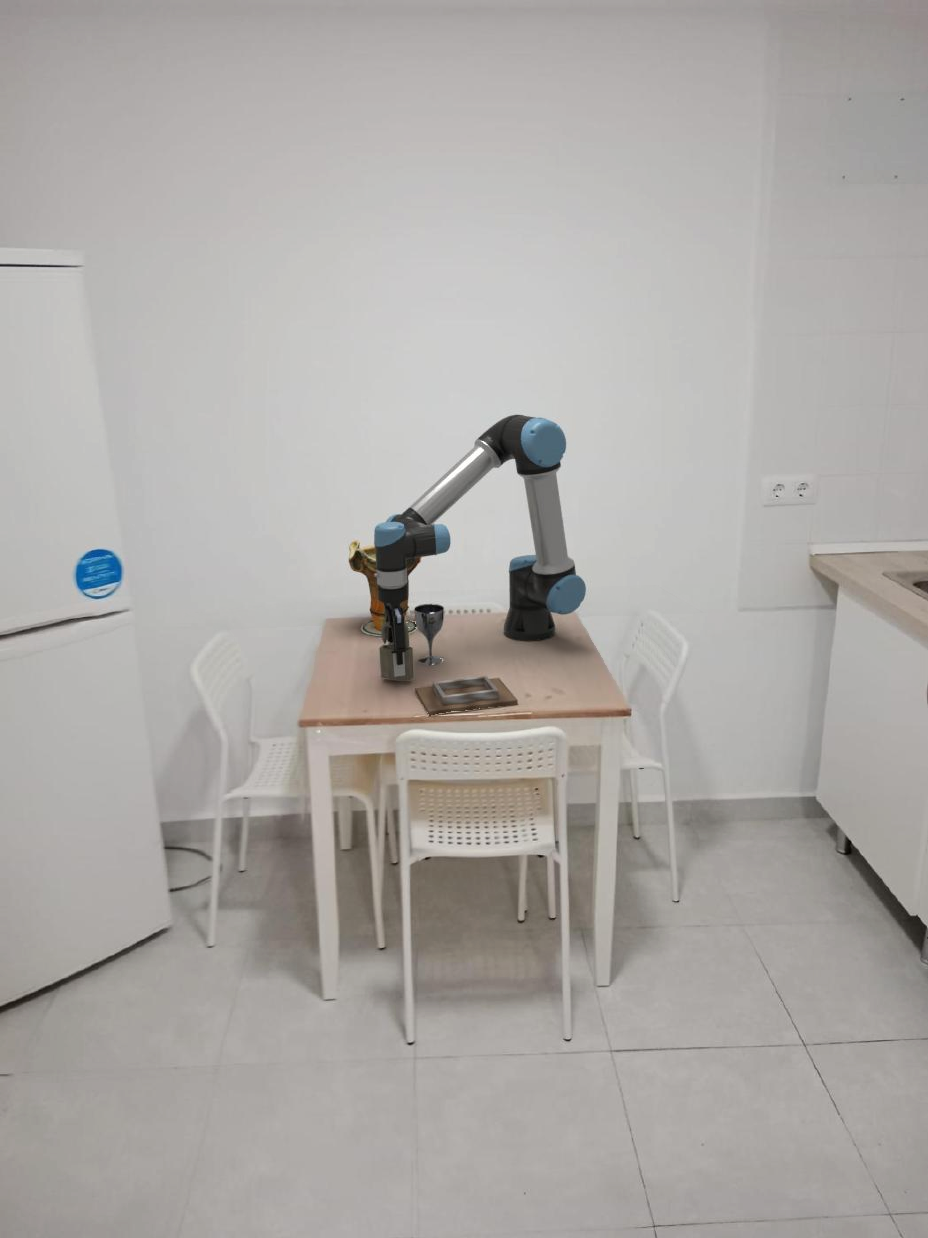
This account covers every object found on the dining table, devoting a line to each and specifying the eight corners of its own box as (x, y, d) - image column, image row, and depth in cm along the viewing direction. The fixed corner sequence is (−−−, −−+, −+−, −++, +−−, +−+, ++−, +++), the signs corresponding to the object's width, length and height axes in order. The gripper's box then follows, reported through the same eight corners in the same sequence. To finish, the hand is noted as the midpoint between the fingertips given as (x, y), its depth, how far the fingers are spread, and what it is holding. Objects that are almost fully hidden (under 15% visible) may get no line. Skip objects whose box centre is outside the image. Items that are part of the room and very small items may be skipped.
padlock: (386, 673, 246) (382, 618, 241) (415, 676, 243) (412, 621, 238) (379, 678, 242) (376, 623, 237) (409, 682, 240) (406, 626, 235)
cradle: (498, 682, 241) (498, 670, 240) (517, 704, 228) (517, 692, 227) (415, 692, 236) (414, 680, 235) (429, 716, 222) (428, 703, 221)
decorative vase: (339, 622, 288) (339, 532, 280) (410, 615, 297) (411, 528, 289) (360, 643, 270) (360, 548, 262) (435, 635, 279) (437, 542, 271)
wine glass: (441, 666, 252) (440, 613, 248) (413, 665, 254) (411, 612, 249) (448, 656, 260) (446, 604, 255) (420, 654, 261) (418, 603, 257)
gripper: (370, 576, 242) (376, 660, 250) (384, 597, 225) (390, 686, 233) (399, 573, 244) (403, 656, 252) (415, 593, 227) (419, 682, 234)
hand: (397, 670), depth 242 cm, fingers closed on padlock, 6 cm apart
